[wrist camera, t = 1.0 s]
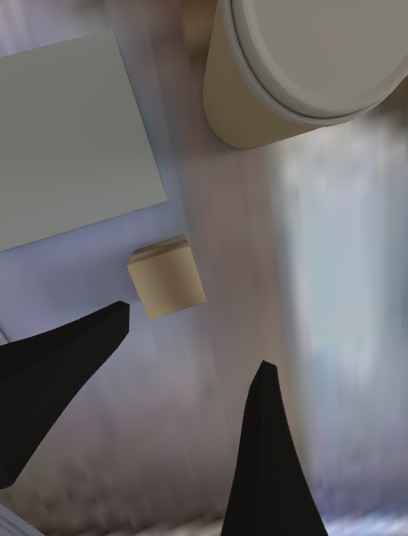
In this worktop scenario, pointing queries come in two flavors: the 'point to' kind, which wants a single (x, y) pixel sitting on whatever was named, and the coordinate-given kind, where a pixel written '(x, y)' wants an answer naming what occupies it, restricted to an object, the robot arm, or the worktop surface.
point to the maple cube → (166, 277)
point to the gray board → (70, 141)
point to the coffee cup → (300, 65)
